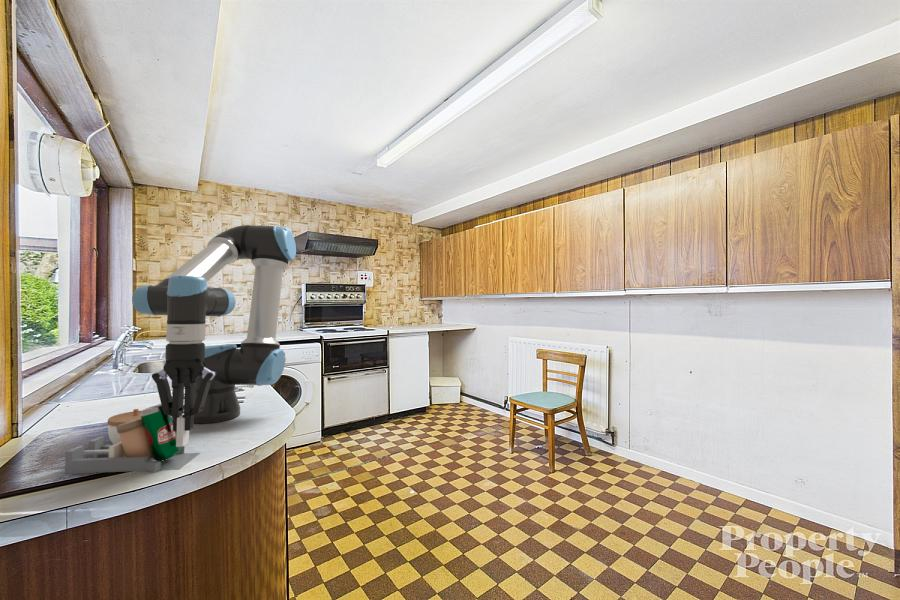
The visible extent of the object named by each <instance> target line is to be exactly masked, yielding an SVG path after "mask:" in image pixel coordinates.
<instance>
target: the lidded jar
mask: <svg viewBox="0 0 900 600" xmlns="http://www.w3.org/2000/svg"><path fill="white" fill-rule="evenodd" d="M141 411H142V410H139V408H134V409H133V411H127V412H124V413H118V414H115V415H113V416H111V417H109V418H108V419H107V432H108V433H107V434H108V437H109V441H110V442H111V443H112V445H114V444H116V443H118V442H120V441H121V440H120V437H119V434H118V433H117V429H116V426H118V425H120V424H123V423H125V422H128V421H131V420H134V419H137V418H141V414H142V412H141Z"/></svg>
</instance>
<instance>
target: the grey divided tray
mask: <svg viewBox="0 0 900 600" xmlns="http://www.w3.org/2000/svg"><path fill="white" fill-rule="evenodd" d="M112 445H113V444H106V436H104V435H101V436H97V437H95V438H93V439H91V440H89V441H88V450H108V449H109V447H110V446H112ZM185 446H186V445H184V446H183V447H180V451H179V453H178V454H176V455H175V456H173V457H171V458H168V459H167V460H164V461H152V460H154V458H153V457H151V458H149V459H148V456H145V457H114V458H109V454H99V455H87V458H85V455H84V450H85V446H84V445H77V446H76V447H73V448H71V449H69V450H66V451H65V462H64V464H65V466H64V470H65V471H64V475H65V474H89V473H90V474H91V473H92V474H94V473H96V472H98V473H116V472H118V473H119V472H120V473H121V472H144V471H145V472H151V473H156V472H159V471H175V470H176V471H177V470H181V469H182V468H183V467H184V466H185V467H186V465H187V464H189V462H190V463H191V461H192V460H194V459H195V458H196V457H197V456H199V455H200V454H201V452H189V453H188V452H186V453H185Z"/></svg>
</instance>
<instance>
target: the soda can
mask: <svg viewBox="0 0 900 600" xmlns="http://www.w3.org/2000/svg"><path fill="white" fill-rule="evenodd" d="M140 411H141V412H142V414H141V420H142V423H143V426H144V429H145V433H146V436H147V439H148V442H149V445H150V449H151V452H152V455H153V458H154V460H156V461H162V460H166V459H168V458H171V457H173V456H175V455H176V454H178V453H179V451H180V447H176V436H177V432H176V431H173V419H172V418H171V417H172V416H171V415H164V413H163V409H162V405H161V403H159V404H156V405H153V406H150V407H147V408H145V409H143V410H140Z"/></svg>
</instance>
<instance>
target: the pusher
mask: <svg viewBox="0 0 900 600" xmlns="http://www.w3.org/2000/svg"><path fill="white" fill-rule="evenodd" d="M111 445H112V446H110V447H109V449H108V450H89V449H84V456H88V455H99V454H109V458H114V457H126V456H125V453H124V450H123V447H122V443H121V441H120V442H118V443H116V444H111Z"/></svg>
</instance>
